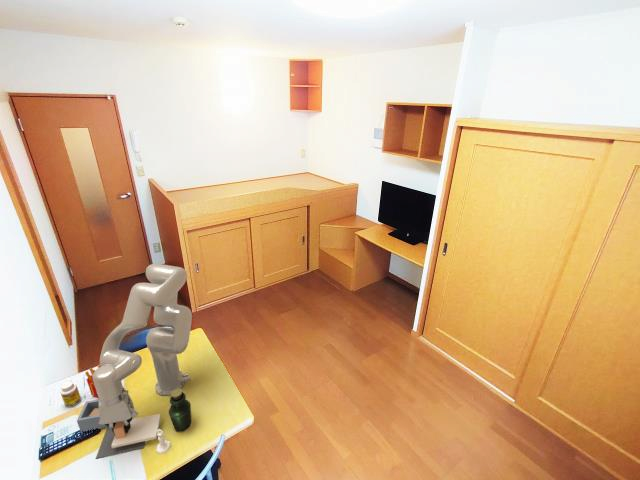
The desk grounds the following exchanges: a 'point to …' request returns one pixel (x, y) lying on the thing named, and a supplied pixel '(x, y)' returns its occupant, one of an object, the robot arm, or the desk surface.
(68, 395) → the supplement bottle
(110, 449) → the rubber mat
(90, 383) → the french fries container
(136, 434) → the snap lid
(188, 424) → the potion bottle
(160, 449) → the chess piece
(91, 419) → the parts tub
